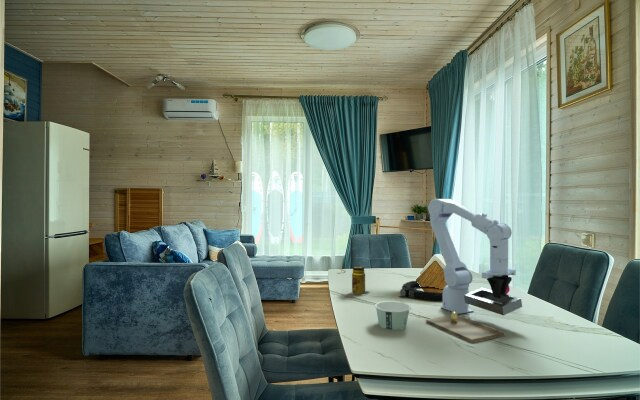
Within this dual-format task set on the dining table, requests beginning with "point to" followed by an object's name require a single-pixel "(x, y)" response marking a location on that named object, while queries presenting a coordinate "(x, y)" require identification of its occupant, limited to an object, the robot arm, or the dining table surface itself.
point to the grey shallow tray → (477, 300)
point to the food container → (392, 314)
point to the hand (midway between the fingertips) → (498, 297)
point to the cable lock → (419, 292)
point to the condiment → (358, 281)
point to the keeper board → (465, 328)
